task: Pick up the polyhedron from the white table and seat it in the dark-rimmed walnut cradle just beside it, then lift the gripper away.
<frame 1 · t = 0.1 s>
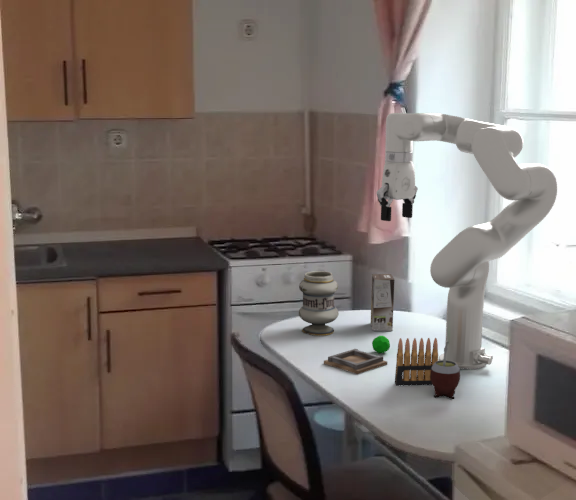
hand: (396, 218, 241), 37 cm above the table, tool pointing down, fingers open, 9 cm apart
mate gourd: (444, 396, 205), on the table
cradle: (355, 363, 229), on the table
coffee box: (381, 327, 265), on the table
apothecary jar: (318, 331, 260), on the table
ammunition clip: (416, 384, 213), on the table
polyhedron: (380, 353, 239), on the table
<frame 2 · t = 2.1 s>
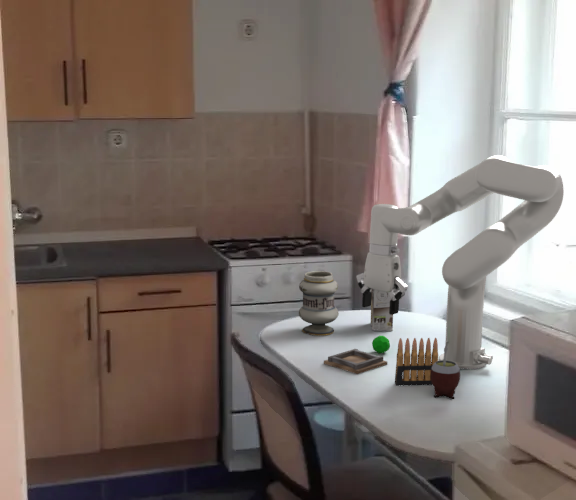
hand: (379, 310, 237), 12 cm above the table, tool pointing down, fingers open, 9 cm apart
nothing on the table moved.
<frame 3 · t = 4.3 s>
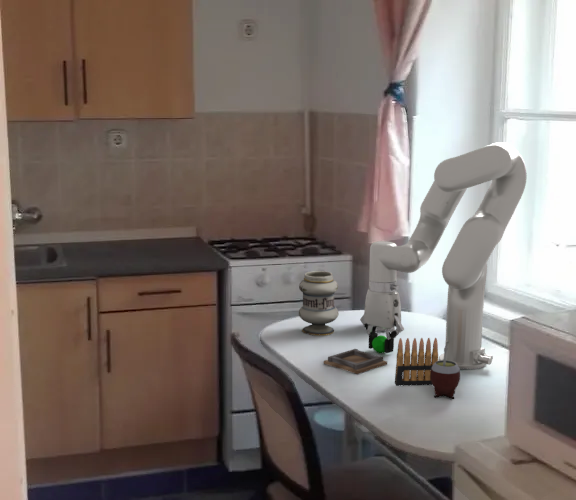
hand: (380, 349, 239), 1 cm above the table, tool pointing down, fingers closed on polyhedron, 5 cm apart
polyhedron: (380, 353, 239), on the table, touching gripper
everything else where it was.
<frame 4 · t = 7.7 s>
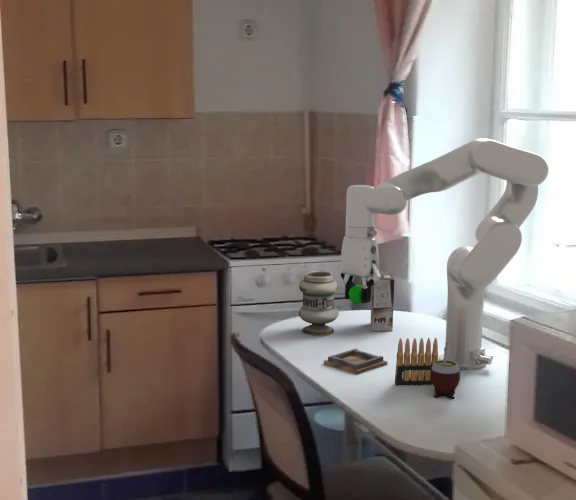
hand: (357, 299, 226), 18 cm above the table, tool pointing down, fingers closed on polyhedron, 5 cm apart
polyhedron: (357, 304, 226), point 16 cm above the table, touching gripper
everything else where it was.
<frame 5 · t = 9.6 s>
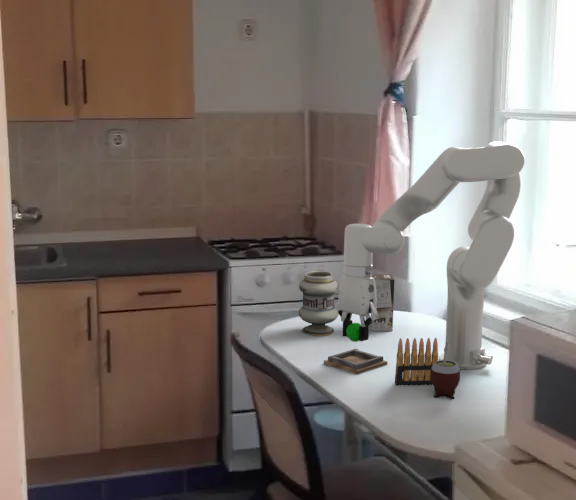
hand: (355, 337, 227), 7 cm above the table, tool pointing down, fingers closed on polyhedron, 5 cm apart
polyhedron: (355, 341, 228), point 6 cm above the table, touching gripper
everything else where it was.
when the fingers open (3 cm above the table, at t = 11.2 s): polyhedron drops 2 cm, resting on cradle.
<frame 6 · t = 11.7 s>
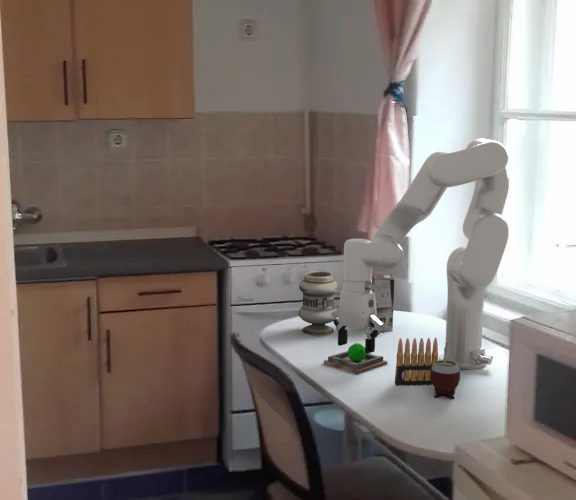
hand: (355, 348, 228), 4 cm above the table, tool pointing down, fingers open, 9 cm apart
polyhedron: (356, 362, 228), point 1 cm above the table, touching cradle
everything else where it was.
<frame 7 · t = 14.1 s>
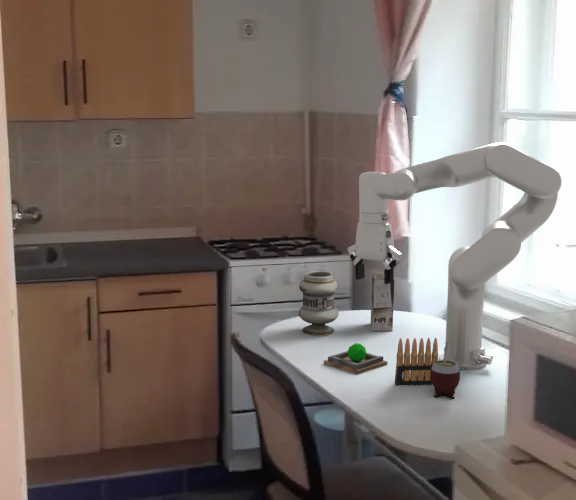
hand: (374, 280, 231), 21 cm above the table, tool pointing down, fingers open, 9 cm apart
nothing on the table moved.
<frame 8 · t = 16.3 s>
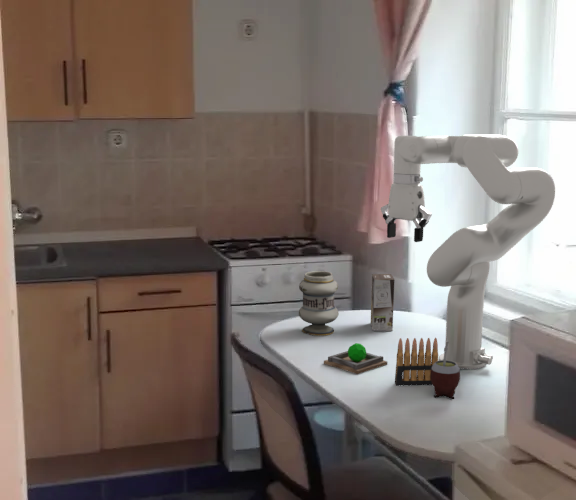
hand: (404, 239, 245), 30 cm above the table, tool pointing down, fingers open, 9 cm apart
nothing on the table moved.
at the end: polyhedron 0.3 cm off-centre on the cradle, point 0.6 cm above the cradle's base; the gripper is holding nothing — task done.
